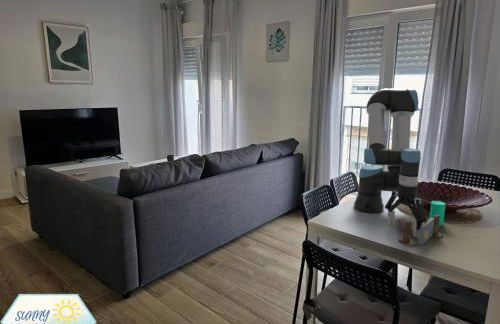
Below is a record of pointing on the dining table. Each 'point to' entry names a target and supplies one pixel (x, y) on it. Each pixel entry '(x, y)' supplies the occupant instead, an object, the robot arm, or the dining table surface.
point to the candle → (437, 210)
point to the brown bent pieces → (407, 232)
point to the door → (426, 231)
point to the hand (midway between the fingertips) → (403, 230)
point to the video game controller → (401, 224)
